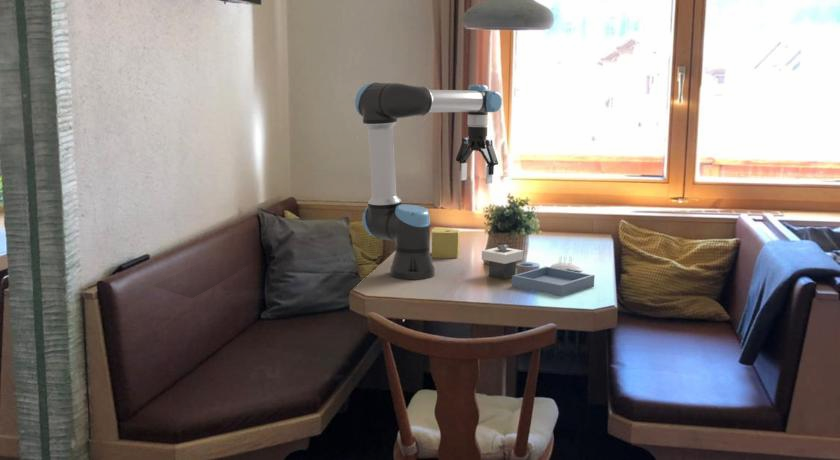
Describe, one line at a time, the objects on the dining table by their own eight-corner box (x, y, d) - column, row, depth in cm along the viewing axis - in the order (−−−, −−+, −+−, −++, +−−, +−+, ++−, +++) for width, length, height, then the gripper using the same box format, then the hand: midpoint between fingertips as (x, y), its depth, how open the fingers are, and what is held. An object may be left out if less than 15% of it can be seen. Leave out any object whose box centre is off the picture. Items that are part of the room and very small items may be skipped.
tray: (561, 296, 267) (561, 285, 266) (511, 286, 280) (512, 275, 279) (594, 285, 281) (594, 275, 280) (545, 276, 293) (545, 266, 293)
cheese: (459, 253, 332) (460, 227, 330) (458, 259, 321) (458, 232, 319) (433, 252, 333) (433, 227, 331) (430, 258, 322) (430, 232, 320)
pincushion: (583, 270, 304) (584, 254, 303) (581, 274, 298) (582, 258, 297) (549, 268, 307) (549, 252, 306) (546, 272, 301) (547, 256, 300)
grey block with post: (503, 279, 288) (504, 248, 286) (488, 276, 293) (489, 245, 291) (515, 276, 293) (516, 245, 291) (500, 273, 297) (501, 242, 295)
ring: (505, 263, 285) (505, 255, 284) (477, 258, 293) (477, 249, 292) (523, 259, 292) (523, 250, 291) (495, 254, 300) (495, 245, 299)
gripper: (508, 127, 321) (506, 184, 324) (461, 124, 339) (460, 178, 343) (494, 127, 316) (493, 185, 319) (447, 124, 334) (446, 179, 338)
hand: (476, 181), depth 331 cm, fingers open, 13 cm apart
